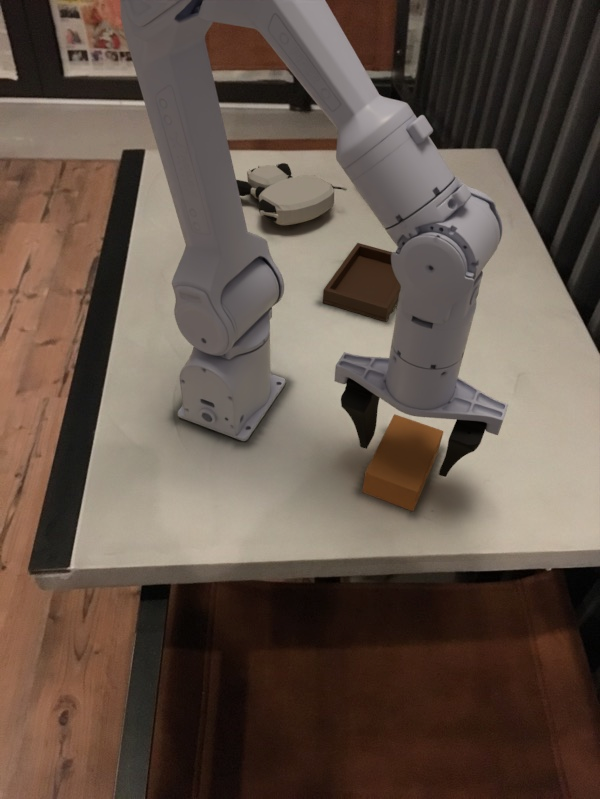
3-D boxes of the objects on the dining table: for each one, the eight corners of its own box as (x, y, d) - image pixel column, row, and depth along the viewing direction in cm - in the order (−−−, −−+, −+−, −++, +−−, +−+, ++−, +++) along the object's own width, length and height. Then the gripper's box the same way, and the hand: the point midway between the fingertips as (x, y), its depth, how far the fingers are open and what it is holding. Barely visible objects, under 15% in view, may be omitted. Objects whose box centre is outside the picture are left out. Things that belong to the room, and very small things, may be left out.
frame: (385, 321, 81) (387, 308, 80) (322, 302, 83) (323, 289, 82) (415, 271, 88) (417, 258, 87) (356, 255, 90) (357, 242, 89)
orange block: (413, 511, 62) (417, 492, 60) (362, 492, 64) (364, 472, 62) (438, 450, 67) (443, 430, 65) (390, 433, 69) (394, 413, 67)
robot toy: (218, 204, 100) (280, 244, 91) (215, 174, 97) (279, 212, 88) (285, 179, 105) (349, 214, 97) (284, 150, 102) (350, 184, 94)
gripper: (530, 341, 54) (492, 450, 64) (360, 292, 58) (349, 401, 68) (510, 398, 50) (473, 506, 60) (328, 341, 54) (321, 451, 64)
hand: (405, 454), depth 64 cm, fingers open, 7 cm apart
